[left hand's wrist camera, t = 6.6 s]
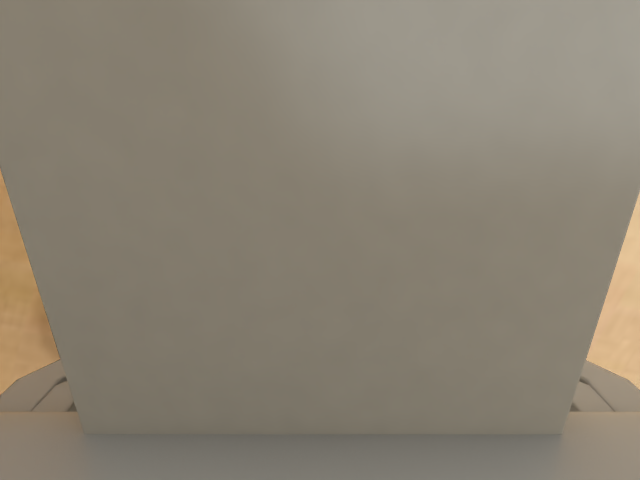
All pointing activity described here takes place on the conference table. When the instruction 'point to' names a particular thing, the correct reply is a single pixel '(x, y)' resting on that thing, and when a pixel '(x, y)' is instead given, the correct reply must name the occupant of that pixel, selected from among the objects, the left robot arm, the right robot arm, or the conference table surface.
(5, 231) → the conference table surface
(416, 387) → the box
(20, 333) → the conference table surface
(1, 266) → the conference table surface
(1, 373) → the conference table surface
